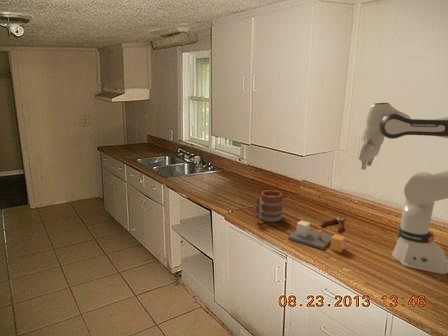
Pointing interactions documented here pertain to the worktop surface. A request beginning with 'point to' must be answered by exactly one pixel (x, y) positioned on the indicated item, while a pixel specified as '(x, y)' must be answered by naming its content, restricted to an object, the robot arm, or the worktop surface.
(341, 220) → the pliers
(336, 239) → the orange matte cube
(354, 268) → the worktop surface
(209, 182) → the worktop surface
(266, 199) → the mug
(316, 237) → the plate
